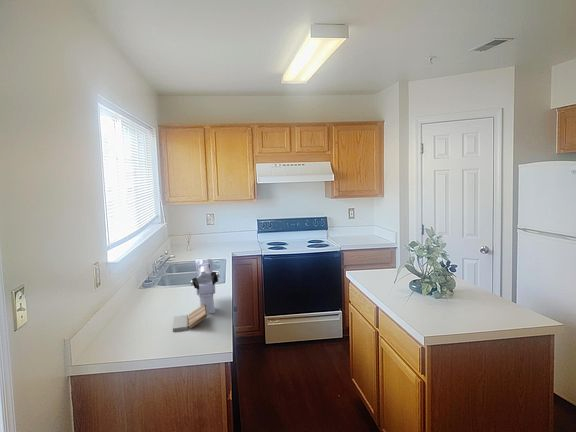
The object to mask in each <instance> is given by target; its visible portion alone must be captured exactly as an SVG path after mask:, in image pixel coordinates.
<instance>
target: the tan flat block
mask: <svg viewBox="0 0 576 432" xmlns="http://www.w3.org/2000/svg"><path fill="white" fill-rule="evenodd" d="M207 318H208V314H207V310H206V305H205V304H203V305H202V306H200V305H199V306H198V307H197V308H196V309H193V311H191V312H190V313H189V314H188V329H192V328H194V327H196V325H198V324H199V323H201V322H202V321H203V320H205V319H207Z"/></svg>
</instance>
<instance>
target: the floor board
mask: <svg viewBox="0 0 576 432" xmlns="http://www.w3.org/2000/svg"><path fill="white" fill-rule="evenodd" d="M172 322H173V323H172V324H173V325H172V332H179V331H180V332H181V331H188V330H189V326H188V322H189V314H186V315H184V314H183V315H175V316H173V321H172Z"/></svg>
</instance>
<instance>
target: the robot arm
mask: <svg viewBox="0 0 576 432" xmlns="http://www.w3.org/2000/svg"><path fill="white" fill-rule="evenodd" d="M195 269H196V273H197V275H198V276H197V277H194V278H192V279H191V280H190V284H191V286H193V287H194V289H196V295H197V296H198V297H199V307H200V306H202V305H203V304H205V305H206V310H207V315H208V314H209V315H210V314H214V313H216V309H215V302H214V295H215V294H216V283H218V282H219V278H220V277H221V276H220V272H216V271H214V265H213V259H212V258H208V259H207V258H206V259H196V260H195Z"/></svg>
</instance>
